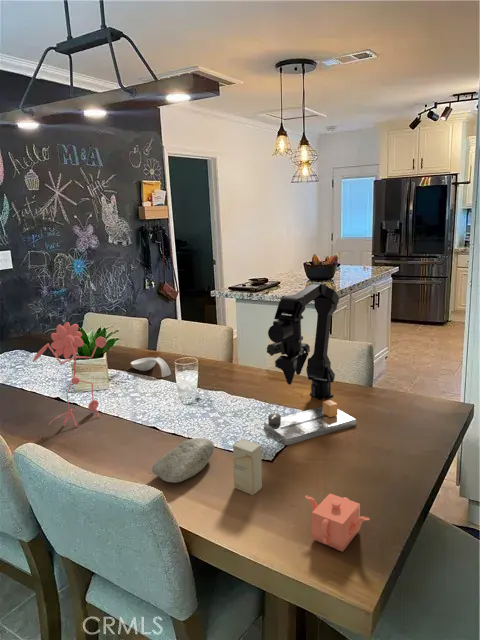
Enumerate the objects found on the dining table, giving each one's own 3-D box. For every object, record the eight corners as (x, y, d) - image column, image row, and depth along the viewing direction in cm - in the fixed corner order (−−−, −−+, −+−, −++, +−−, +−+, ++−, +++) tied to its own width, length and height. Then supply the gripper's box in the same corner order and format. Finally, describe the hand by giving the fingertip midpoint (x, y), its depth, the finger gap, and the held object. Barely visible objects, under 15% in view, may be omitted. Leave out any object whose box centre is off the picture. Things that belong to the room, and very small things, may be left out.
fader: (330, 410, 161) (330, 399, 160) (337, 415, 157) (337, 403, 156) (322, 412, 159) (322, 401, 158) (330, 417, 156) (329, 405, 155)
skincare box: (233, 488, 123) (231, 445, 121) (244, 480, 127) (241, 438, 124) (253, 496, 120) (251, 451, 117) (263, 487, 123) (261, 444, 120)
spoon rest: (126, 369, 221) (124, 354, 220) (147, 363, 229) (146, 348, 228) (156, 380, 205) (155, 364, 203) (178, 373, 213) (177, 357, 211)
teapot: (318, 510, 113) (318, 479, 111) (380, 534, 104) (381, 500, 102) (292, 539, 104) (291, 505, 102) (357, 567, 95) (357, 531, 93)
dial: (271, 418, 157) (270, 412, 157) (282, 420, 155) (282, 414, 155) (266, 424, 153) (266, 417, 153) (278, 425, 152) (278, 419, 151)
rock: (227, 459, 136) (175, 496, 122) (199, 450, 144) (147, 484, 129) (223, 435, 135) (170, 470, 120) (195, 427, 142) (142, 459, 128)
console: (329, 409, 167) (329, 404, 167) (355, 424, 155) (355, 419, 154) (264, 427, 156) (264, 421, 156) (286, 445, 144) (286, 439, 143)
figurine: (120, 409, 176) (108, 316, 168) (56, 437, 157) (38, 333, 149) (95, 401, 186) (83, 313, 178) (32, 426, 166) (15, 329, 159)
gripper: (279, 326, 169) (280, 368, 173) (258, 341, 152) (261, 387, 156) (309, 327, 164) (310, 370, 168) (292, 343, 148) (293, 390, 152)
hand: (293, 379), depth 161 cm, fingers open, 9 cm apart
